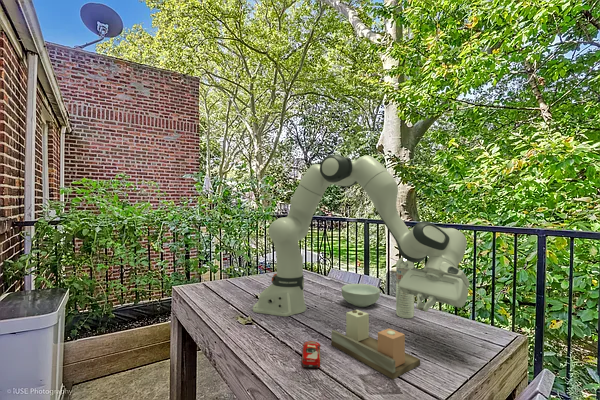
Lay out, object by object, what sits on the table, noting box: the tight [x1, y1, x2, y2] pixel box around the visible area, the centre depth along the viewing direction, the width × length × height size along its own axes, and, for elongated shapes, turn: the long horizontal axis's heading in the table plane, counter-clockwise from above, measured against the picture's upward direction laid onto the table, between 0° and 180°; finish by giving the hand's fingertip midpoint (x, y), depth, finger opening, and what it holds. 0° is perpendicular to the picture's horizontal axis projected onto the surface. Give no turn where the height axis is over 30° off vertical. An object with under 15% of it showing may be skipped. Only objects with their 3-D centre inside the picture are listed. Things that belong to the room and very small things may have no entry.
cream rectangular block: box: [345, 309, 370, 341], centre depth 96 cm, size 5×5×8 cm
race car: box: [301, 340, 322, 369], centre depth 87 cm, size 13×5×4 cm, turn 175°
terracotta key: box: [377, 328, 406, 367], centre depth 81 cm, size 5×5×8 cm
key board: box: [330, 329, 421, 380], centre depth 89 cm, size 12×23×4 cm, turn 36°
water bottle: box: [395, 256, 415, 320], centre depth 120 cm, size 7×7×25 cm
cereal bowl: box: [341, 283, 381, 308], centre depth 135 cm, size 17×17×7 cm
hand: (421, 309), depth 89 cm, fingers closed
